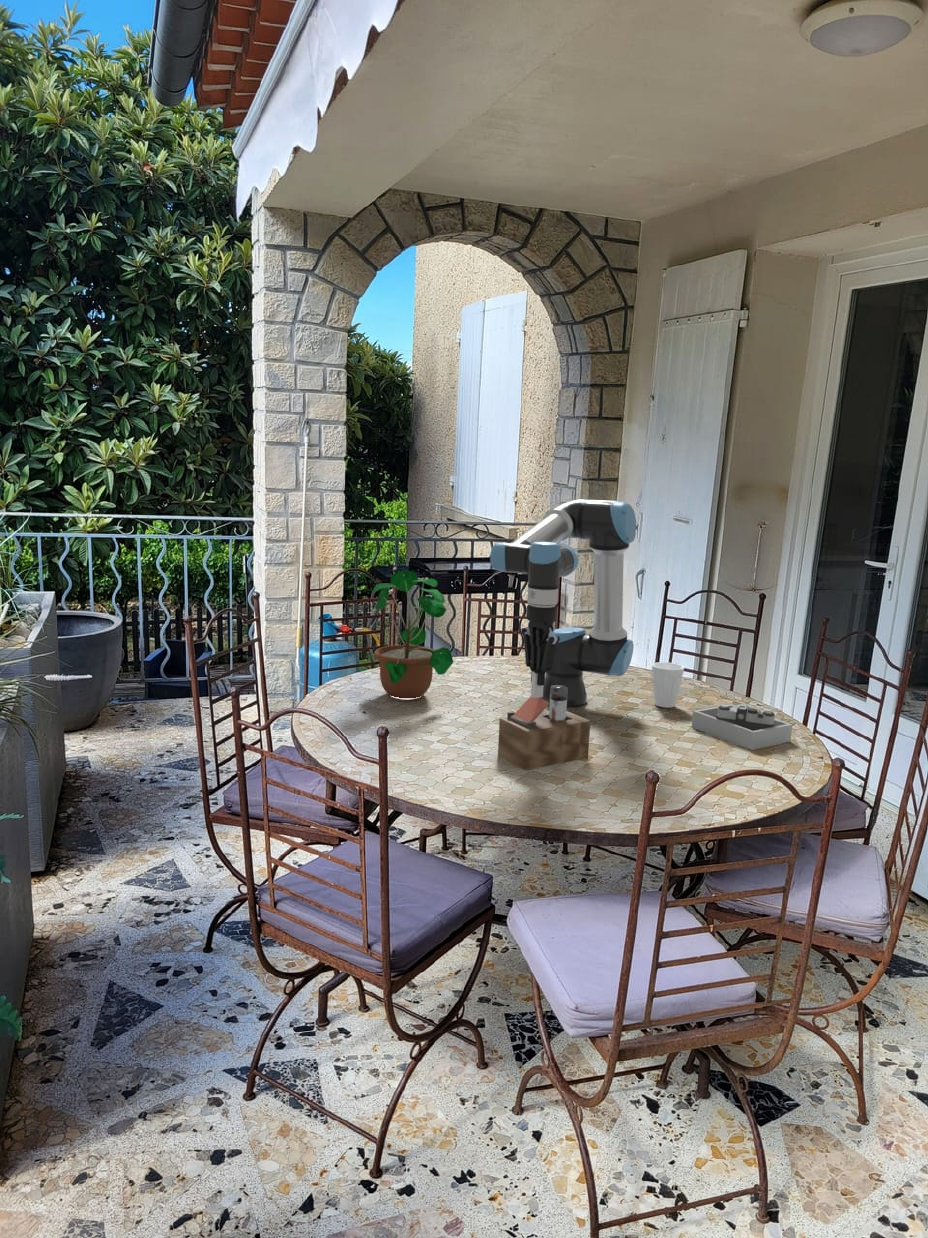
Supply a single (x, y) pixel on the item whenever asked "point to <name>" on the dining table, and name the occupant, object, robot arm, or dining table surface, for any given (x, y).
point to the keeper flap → (529, 711)
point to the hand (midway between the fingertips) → (536, 696)
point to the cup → (666, 683)
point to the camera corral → (741, 730)
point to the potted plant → (411, 642)
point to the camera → (746, 717)
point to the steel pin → (558, 703)
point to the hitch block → (543, 740)
